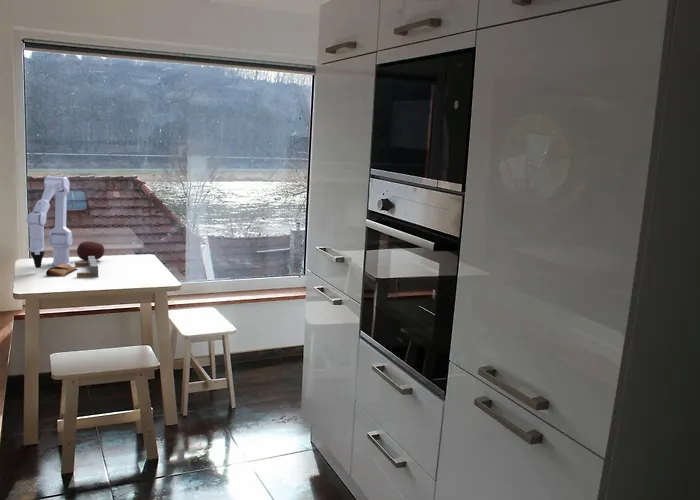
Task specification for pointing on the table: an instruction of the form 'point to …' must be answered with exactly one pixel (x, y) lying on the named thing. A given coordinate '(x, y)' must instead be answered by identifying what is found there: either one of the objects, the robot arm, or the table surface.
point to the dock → (92, 268)
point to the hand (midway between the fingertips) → (38, 267)
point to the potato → (90, 250)
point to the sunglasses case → (60, 270)
